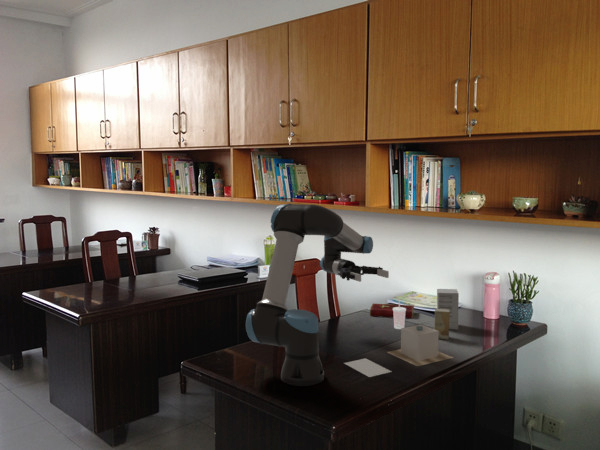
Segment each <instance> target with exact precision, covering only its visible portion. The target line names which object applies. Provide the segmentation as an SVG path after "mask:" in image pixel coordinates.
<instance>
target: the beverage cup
mask: <svg viewBox="0 0 600 450" xmlns="http://www.w3.org/2000/svg"><path fill="white" fill-rule="evenodd" d="M398 305H399V307H394V308H393V315H394V317H393V329H395V330H401V328H405V324H406V323H405V321H406V318H405V311H406V308H403V307H400V305H401V298H400V297H398Z"/></svg>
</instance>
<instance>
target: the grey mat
mask: <svg viewBox="0 0 600 450" xmlns="http://www.w3.org/2000/svg"><path fill="white" fill-rule="evenodd" d="M343 364H344V365H346V366H348V367H350V368H352V369H353V370H355V371H357V372H359V373H360V374H362V375H365V376H366V377H368V378H372V377H376V376H380V375H384V374H389V373H392V372H393V370H390V369H389V368H386V367H385V366H382V365H380V364H378V363H376V362H375V361H372V360H370V359H368V358H361V359H357V360H356V359H355V360H352V361H347V362H343Z"/></svg>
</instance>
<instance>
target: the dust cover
mask: <svg viewBox="0 0 600 450" xmlns="http://www.w3.org/2000/svg"><path fill="white" fill-rule="evenodd" d="M400 349H401V354H404V355H406V356H408V357H410V358H413V359H415V360H417V361H420V360H424V359H428V358H433V357H437V356H438V351H439V339H438V331H437V330H434V328H431V327H428V326H426V325H424V324H416V325H412V326H406V327H404V328H401V329H400Z"/></svg>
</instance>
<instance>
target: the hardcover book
mask: <svg viewBox="0 0 600 450" xmlns="http://www.w3.org/2000/svg"><path fill="white" fill-rule="evenodd" d="M394 307H399V304H393V303H392V304H390V303H389V304H387V303H372V304H371V307H370V308H369V316H370V317H379V316H383V317H382V318H394V315H393V308H394ZM400 307H403V308H406V311H405V319H414V310H415V309H414V308H415V305H408V304H400Z"/></svg>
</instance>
